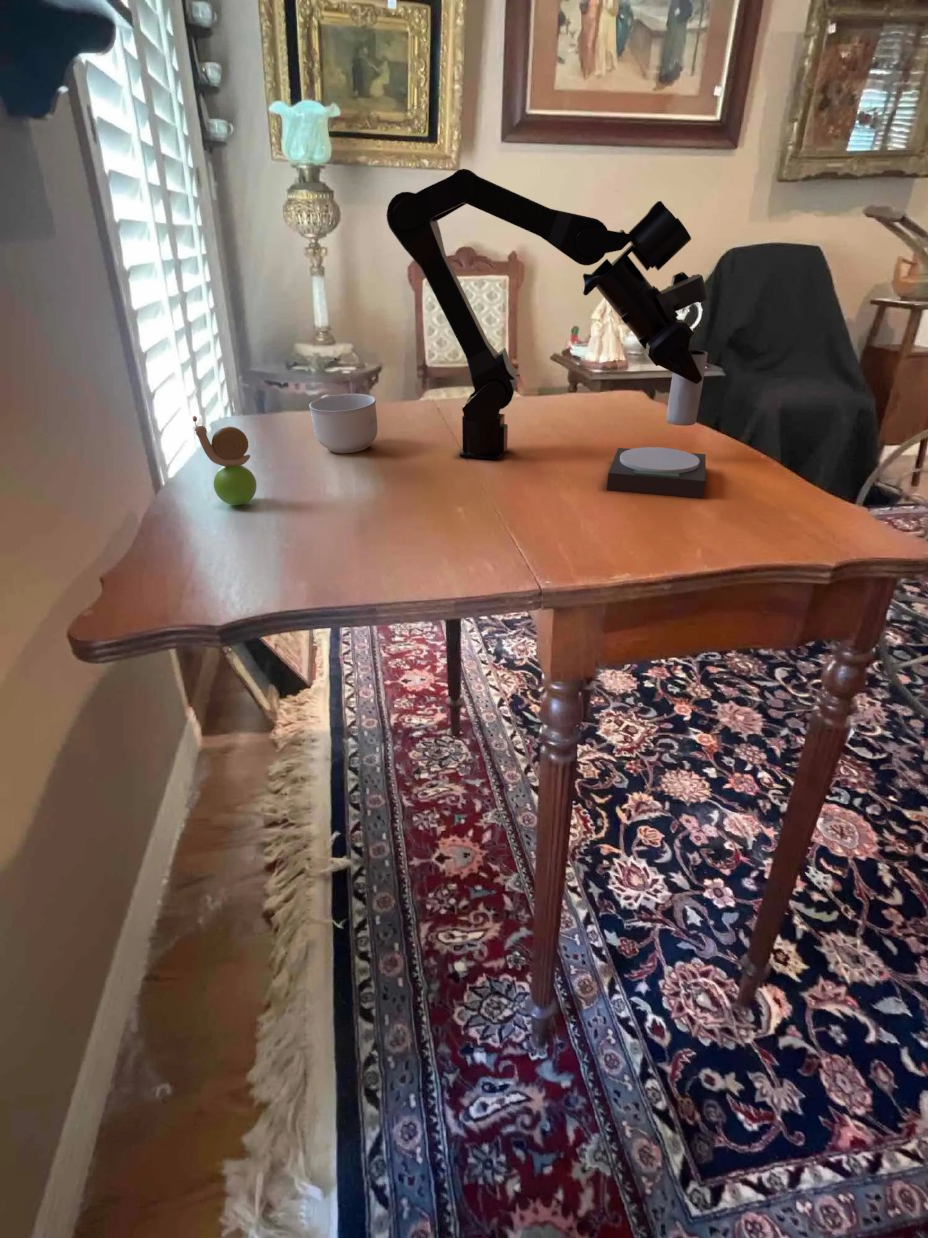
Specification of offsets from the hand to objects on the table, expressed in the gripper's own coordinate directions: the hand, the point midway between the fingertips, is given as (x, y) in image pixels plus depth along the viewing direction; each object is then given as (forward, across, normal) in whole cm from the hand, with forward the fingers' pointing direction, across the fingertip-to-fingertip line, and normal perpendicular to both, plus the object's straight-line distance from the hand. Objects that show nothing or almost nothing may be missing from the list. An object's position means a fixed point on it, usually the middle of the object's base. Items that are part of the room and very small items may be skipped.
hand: (696, 378), depth 103 cm
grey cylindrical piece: (+4, 0, +6) cm, 7 cm away
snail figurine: (-35, -27, +54) cm, 70 cm away
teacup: (-30, +2, +49) cm, 58 cm away
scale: (+5, -11, +13) cm, 17 cm away
